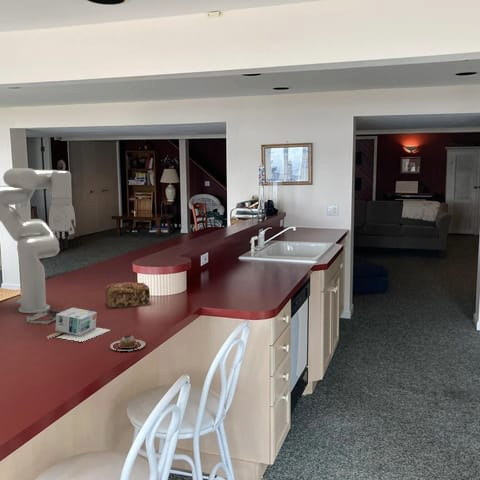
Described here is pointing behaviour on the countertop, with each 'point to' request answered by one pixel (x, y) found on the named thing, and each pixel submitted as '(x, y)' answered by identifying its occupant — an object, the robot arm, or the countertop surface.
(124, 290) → the bread
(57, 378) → the countertop surface
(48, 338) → the maple strip
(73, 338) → the white flat sheet
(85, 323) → the light bulb box
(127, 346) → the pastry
